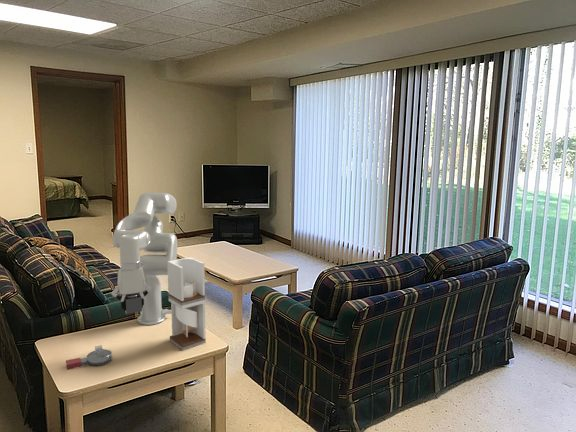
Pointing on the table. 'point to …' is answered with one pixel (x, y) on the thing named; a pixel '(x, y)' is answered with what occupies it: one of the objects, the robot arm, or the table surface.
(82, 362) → the ratchet
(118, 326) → the table surface
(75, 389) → the table surface
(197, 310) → the two-tier white tower
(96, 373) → the table surface
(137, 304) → the socket
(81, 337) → the table surface
